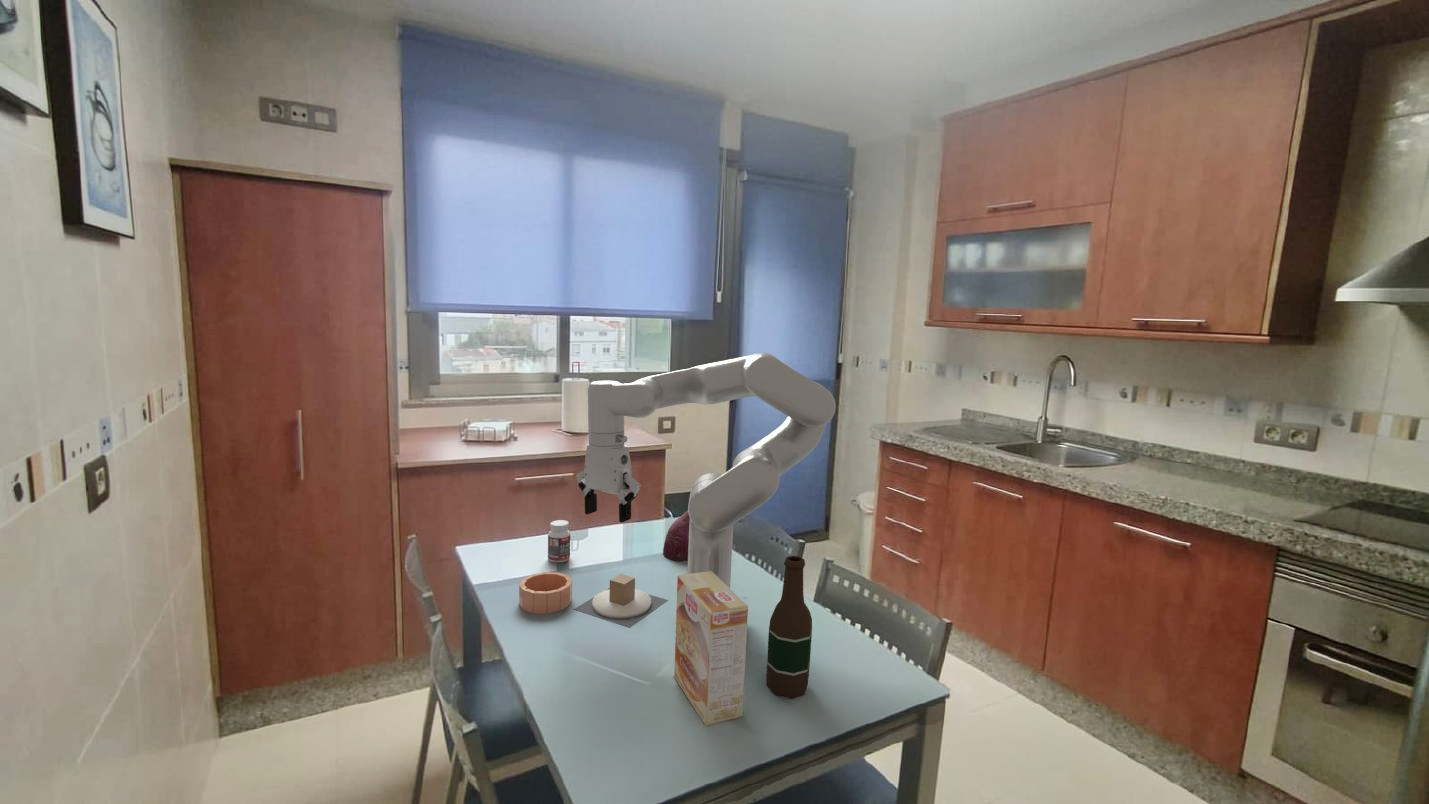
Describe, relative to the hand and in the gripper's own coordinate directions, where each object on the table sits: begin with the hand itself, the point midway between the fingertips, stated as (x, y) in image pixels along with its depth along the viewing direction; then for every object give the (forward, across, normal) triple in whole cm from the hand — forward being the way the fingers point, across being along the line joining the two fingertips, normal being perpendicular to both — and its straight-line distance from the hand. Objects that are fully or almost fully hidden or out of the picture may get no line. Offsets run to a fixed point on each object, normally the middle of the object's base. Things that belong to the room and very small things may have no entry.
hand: (607, 516), depth 134 cm
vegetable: (+22, +6, -36) cm, 43 cm away
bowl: (+21, +13, +6) cm, 25 cm away
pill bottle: (+21, +30, -14) cm, 39 cm away
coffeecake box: (+22, -34, +14) cm, 43 cm away
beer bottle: (+23, -45, +3) cm, 50 cm away
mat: (+21, -1, -3) cm, 22 cm away
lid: (+21, -1, -3) cm, 21 cm away
